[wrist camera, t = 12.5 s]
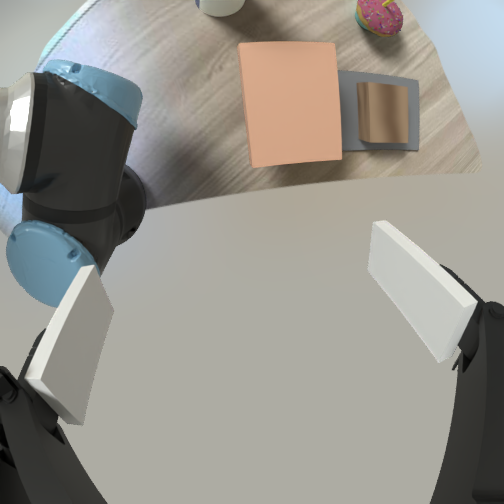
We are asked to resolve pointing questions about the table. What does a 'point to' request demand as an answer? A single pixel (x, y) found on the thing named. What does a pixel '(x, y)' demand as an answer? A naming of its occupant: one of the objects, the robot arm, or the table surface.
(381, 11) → the cupcake
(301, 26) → the table surface
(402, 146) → the mat
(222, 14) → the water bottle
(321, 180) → the table surface
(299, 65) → the lid
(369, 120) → the brown wooden block
